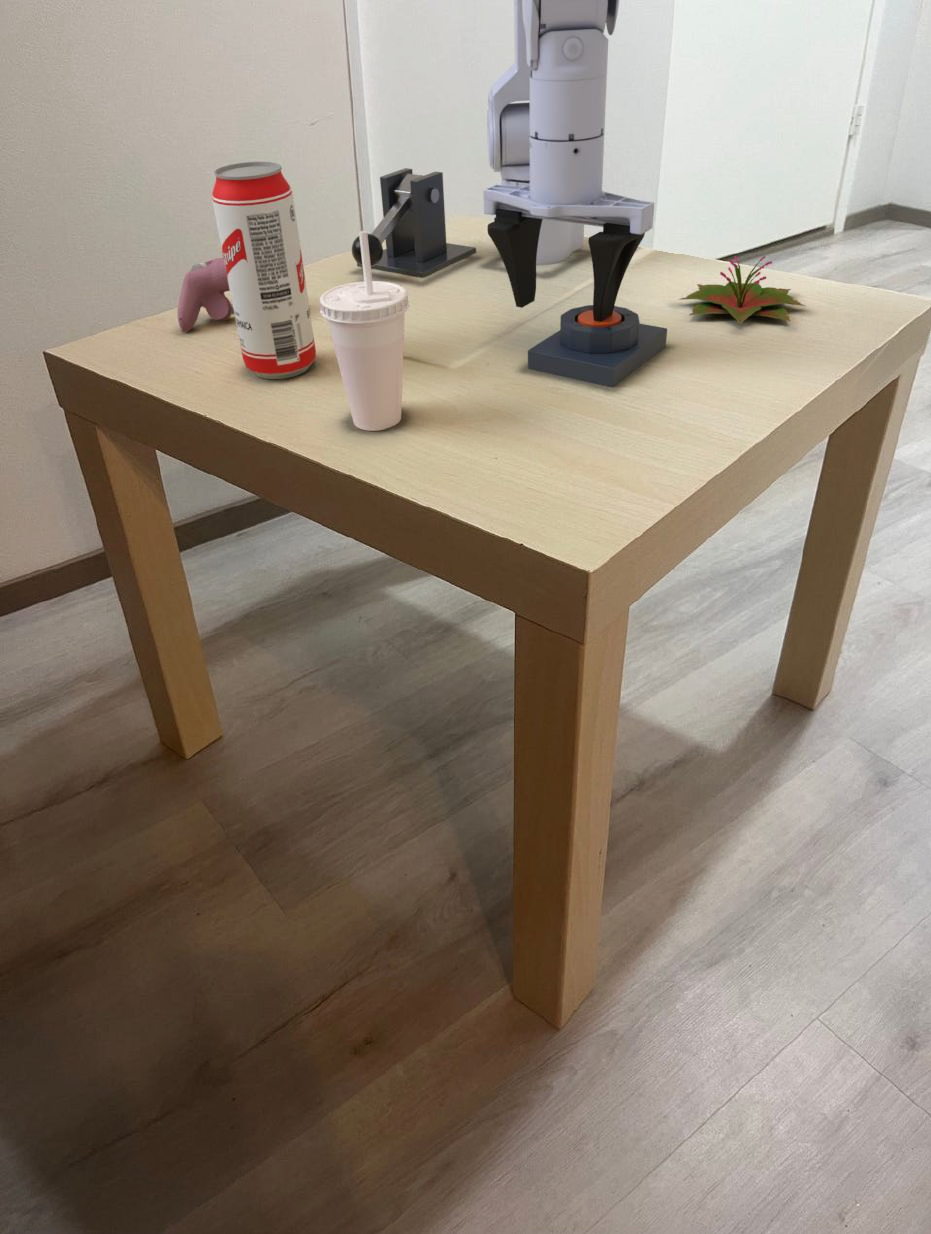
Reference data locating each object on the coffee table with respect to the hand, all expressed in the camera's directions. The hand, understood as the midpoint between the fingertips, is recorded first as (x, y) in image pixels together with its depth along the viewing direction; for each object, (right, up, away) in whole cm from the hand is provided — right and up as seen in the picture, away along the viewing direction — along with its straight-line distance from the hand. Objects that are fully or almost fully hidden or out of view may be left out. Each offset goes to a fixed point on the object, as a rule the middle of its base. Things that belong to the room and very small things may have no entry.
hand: (563, 311), depth 80 cm
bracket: (-14, +13, +24) cm, 30 cm away
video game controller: (-31, +2, +12) cm, 33 cm away
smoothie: (-15, -11, -7) cm, 20 cm away
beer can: (-24, -5, +2) cm, 25 cm away
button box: (+3, -4, +1) cm, 5 cm away
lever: (-16, +14, +19) cm, 29 cm away
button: (+3, -2, -1) cm, 4 cm away
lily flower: (+18, +3, +9) cm, 20 cm away
